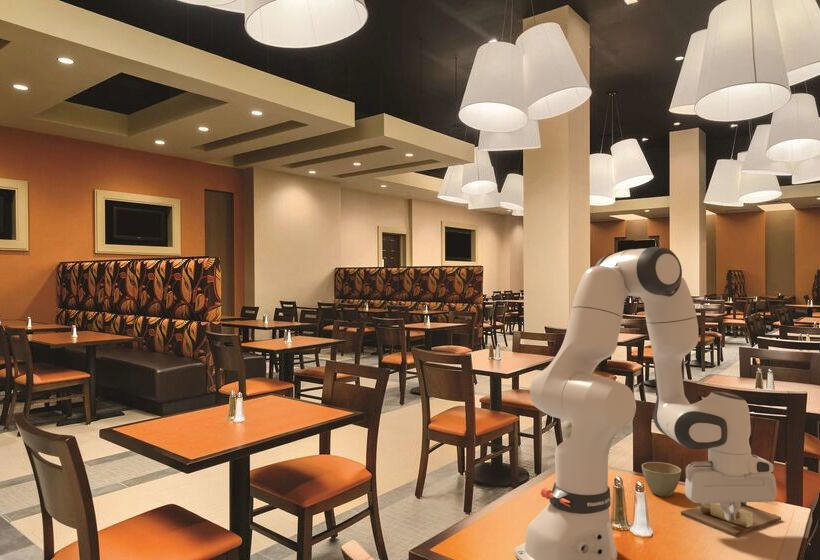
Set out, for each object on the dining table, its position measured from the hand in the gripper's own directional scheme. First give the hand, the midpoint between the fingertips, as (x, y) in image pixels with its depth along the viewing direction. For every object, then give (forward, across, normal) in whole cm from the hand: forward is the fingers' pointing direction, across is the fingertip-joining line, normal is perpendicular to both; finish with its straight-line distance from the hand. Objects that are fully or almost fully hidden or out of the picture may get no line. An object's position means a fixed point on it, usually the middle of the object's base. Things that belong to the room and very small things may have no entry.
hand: (730, 519), depth 130 cm
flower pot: (+2, -6, +23) cm, 24 cm away
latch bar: (+1, +1, +4) cm, 4 cm away
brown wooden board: (+2, +4, +6) cm, 8 cm away
